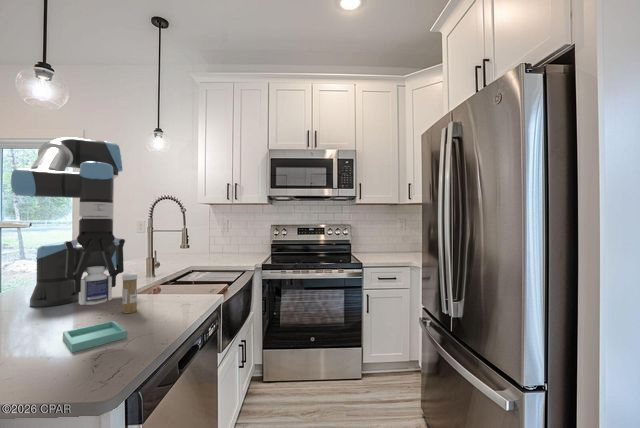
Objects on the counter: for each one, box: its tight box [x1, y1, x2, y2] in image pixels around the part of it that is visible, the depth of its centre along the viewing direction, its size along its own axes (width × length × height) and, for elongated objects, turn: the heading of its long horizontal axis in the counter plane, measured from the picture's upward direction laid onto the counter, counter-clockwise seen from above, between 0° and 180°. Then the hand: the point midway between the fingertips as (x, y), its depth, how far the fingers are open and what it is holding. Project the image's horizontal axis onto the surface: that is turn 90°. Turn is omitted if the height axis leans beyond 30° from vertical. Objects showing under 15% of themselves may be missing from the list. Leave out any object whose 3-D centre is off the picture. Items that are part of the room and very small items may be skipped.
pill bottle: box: [82, 266, 108, 306], centre depth 82 cm, size 5×5×10 cm
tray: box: [62, 320, 128, 353], centre depth 82 cm, size 12×12×2 cm
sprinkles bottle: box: [121, 272, 138, 314], centre depth 105 cm, size 5×5×14 cm
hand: (95, 301), depth 82 cm, fingers closed on pill bottle, 5 cm apart
